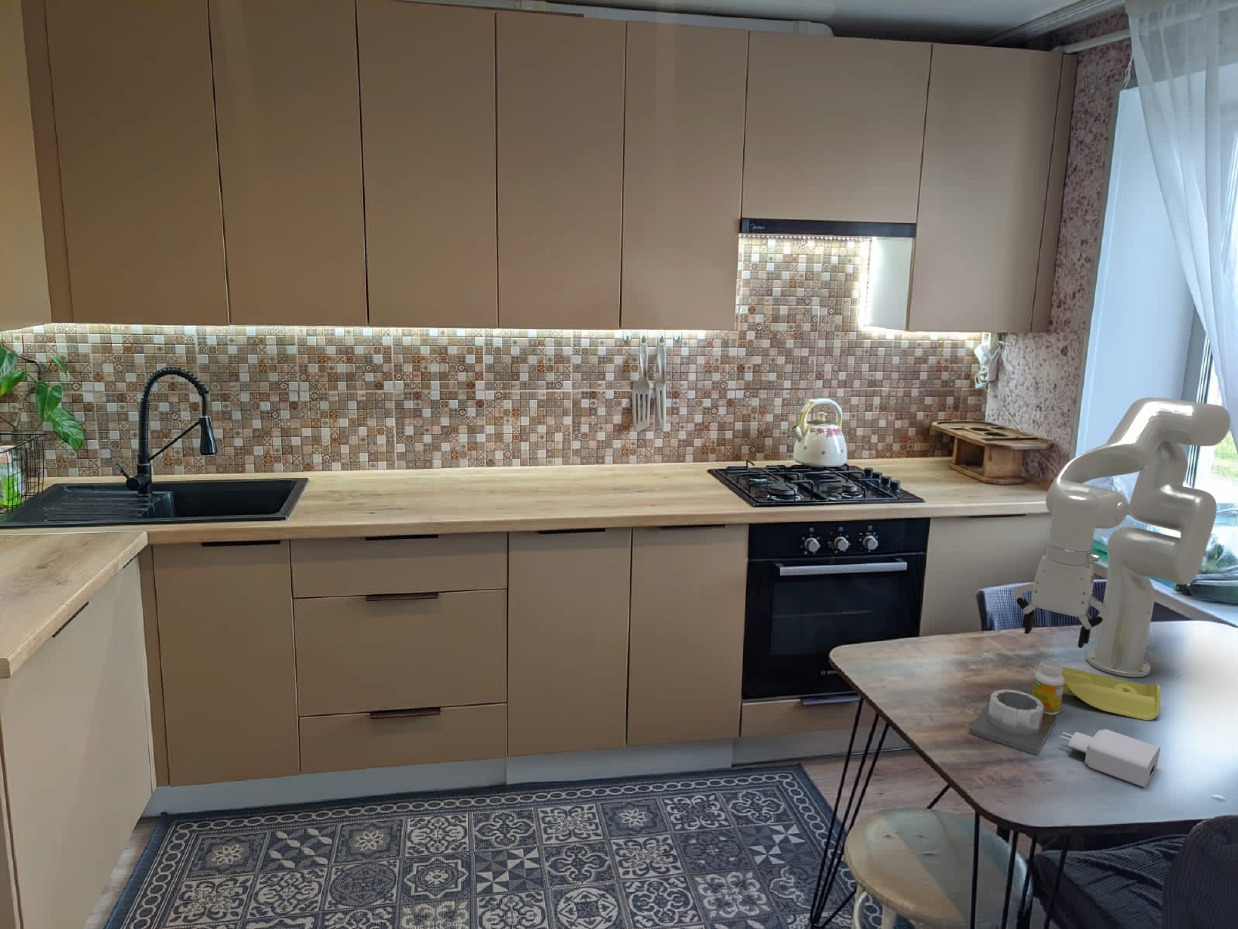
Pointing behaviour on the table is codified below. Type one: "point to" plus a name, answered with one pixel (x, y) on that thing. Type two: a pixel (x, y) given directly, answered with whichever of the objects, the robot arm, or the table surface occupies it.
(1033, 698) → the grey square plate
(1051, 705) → the supplement bottle
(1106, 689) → the plastic component
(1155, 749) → the charger
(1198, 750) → the table surface
